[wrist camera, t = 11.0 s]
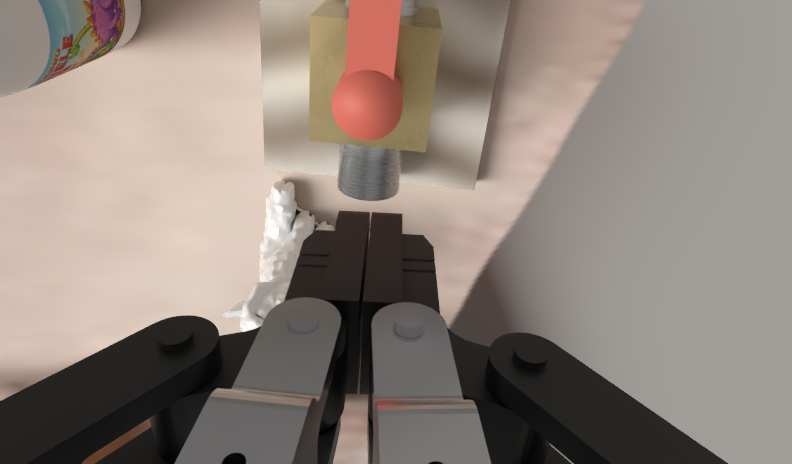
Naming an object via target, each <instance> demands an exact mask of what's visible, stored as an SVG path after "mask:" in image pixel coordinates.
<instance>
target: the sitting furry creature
mask: <svg viewBox="0 0 792 464" xmlns="http://www.w3.org/2000/svg"><path fill="white" fill-rule="evenodd" d="M294 198H295V188H294V184H293V183H292V182H290V181H289V182H287V183H286V182H285V181H284V180H282V181H278V182H276V183H275V184H274V185H273V187H272V189H271V194H270V195H269V196H267V198H266V206H267V207H266V220H265V230H264V233H263V234H264V240H263V242H262V243H261V244H260V246H261V247H260V252H261V254H260V256H259V257H260V263H259V268H260V277H259V280H260V282H259V283H256V284H255V285H254V289H253V291H252V292H251V294H250V295H249V296H248V297H247V298H246V301H243V302H241V303H238V304H237V305H236V306H234V307H233V308H232V309H231V310H230V311H229V312H226V313H223V314H222V315H223V316H224V317H227V318H239V317H241V320H240V326H241V330H242V332H245V331H249V330H252V329H256V328H258V327H260V326H262V324H263V321H264V319H265V317H266V315H267V314H268V312H269V311H270V310H271V309H272V308H273V307H275V306H276V305H278V304H280V303H282V302H284V300H285V297H286V294H287V291H288V287H289V284H290V281H291V278H292V275H293V272H294V269H295V267H296V262H297V259H298V256H299V253H300V250H301V247H302V244H303V241H304V240H305V239H306V238H307V237H308V236H309V235H311V234H312V233H313V231H314V227H315V225H316V226H317V228H316V229H315V230H329V231H335V227H333V226H332V225H327V222H325V221H324V222H321V224H318V223H317V222H315V217H314V215H312V216H311V217H310V216H309V211H304V210H302V209H300V208H299V207H297V203H296V201H295V200H294ZM296 210H298V211H300V213H299V214H298V215H297V216H295V212H296ZM294 218H296V219H294ZM293 219H294V223H293ZM314 224H315V225H314ZM369 237H370V231H369Z"/></svg>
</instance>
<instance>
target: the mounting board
mask: <svg viewBox="0 0 792 464" xmlns="http://www.w3.org/2000/svg"><path fill="white" fill-rule="evenodd" d="M325 1H326V0H259V6H260V35H261V64H262V93H263V122H264V151H265V169H271V170H281V171H291V172H301V173H310V174H320V175H330V176H338V164H339V144H338V143H329V142H319V141H309V81H310V15H311V14H312V13H313V12H314V11H315V10H316V9H317V8H318V7H320V6H321V5H322V4H323V3H324V2H325ZM510 2H511V0H419V7H423V8H432V9H438V11H439V16H440V20H441V25H442V36H441V44H440V51H439V59H438V66H437V74H436V81H435V89H434V96H433V104H432V111H431V119H430V126H429V134H428V141H427V149H426V152H416V151H406V150H403V154H402V163H401V172H400V181H399V183H408V184H418V185H428V186H438V187H448V188H457V189H467V190H475V184H476V179H477V174H478V169H479V164H480V158H481V153H482V148H483V143H484V137H485V132H486V127H487V122H488V117H489V111H490V106H491V101H492V96H493V90H494V85H495V80H496V75H497V70H498V64H499V59H500V54H501V49H502V43H503V38H504V33H505V28H506V23H507V17H508V12H509V7H510Z"/></svg>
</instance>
